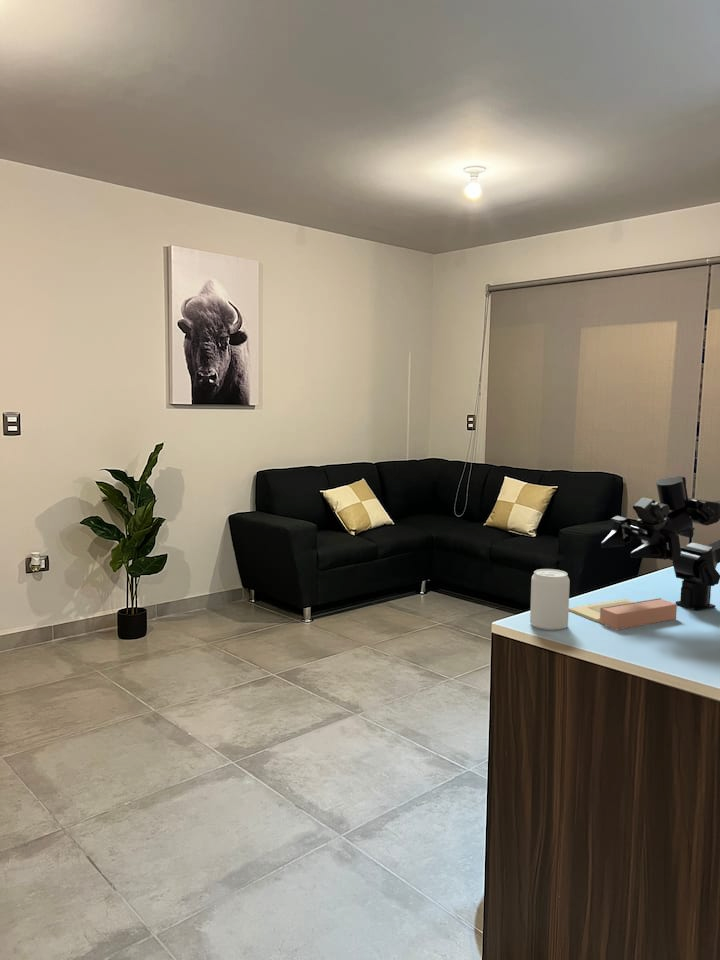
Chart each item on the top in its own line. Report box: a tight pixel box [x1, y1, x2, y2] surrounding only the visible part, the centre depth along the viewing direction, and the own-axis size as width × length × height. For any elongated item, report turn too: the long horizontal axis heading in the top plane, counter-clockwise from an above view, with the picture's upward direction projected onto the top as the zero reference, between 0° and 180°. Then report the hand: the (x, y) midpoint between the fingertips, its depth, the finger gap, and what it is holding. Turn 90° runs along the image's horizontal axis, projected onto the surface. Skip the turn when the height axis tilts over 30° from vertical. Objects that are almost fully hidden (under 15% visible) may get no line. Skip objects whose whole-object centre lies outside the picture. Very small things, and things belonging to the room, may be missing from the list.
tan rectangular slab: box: [568, 598, 635, 623], centre depth 172 cm, size 18×10×1 cm, turn 115°
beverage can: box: [529, 568, 571, 631], centre depth 161 cm, size 8×8×12 cm
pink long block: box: [599, 597, 678, 630], centre depth 165 cm, size 18×5×4 cm, turn 115°
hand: (615, 550), depth 165 cm, fingers open, 9 cm apart
